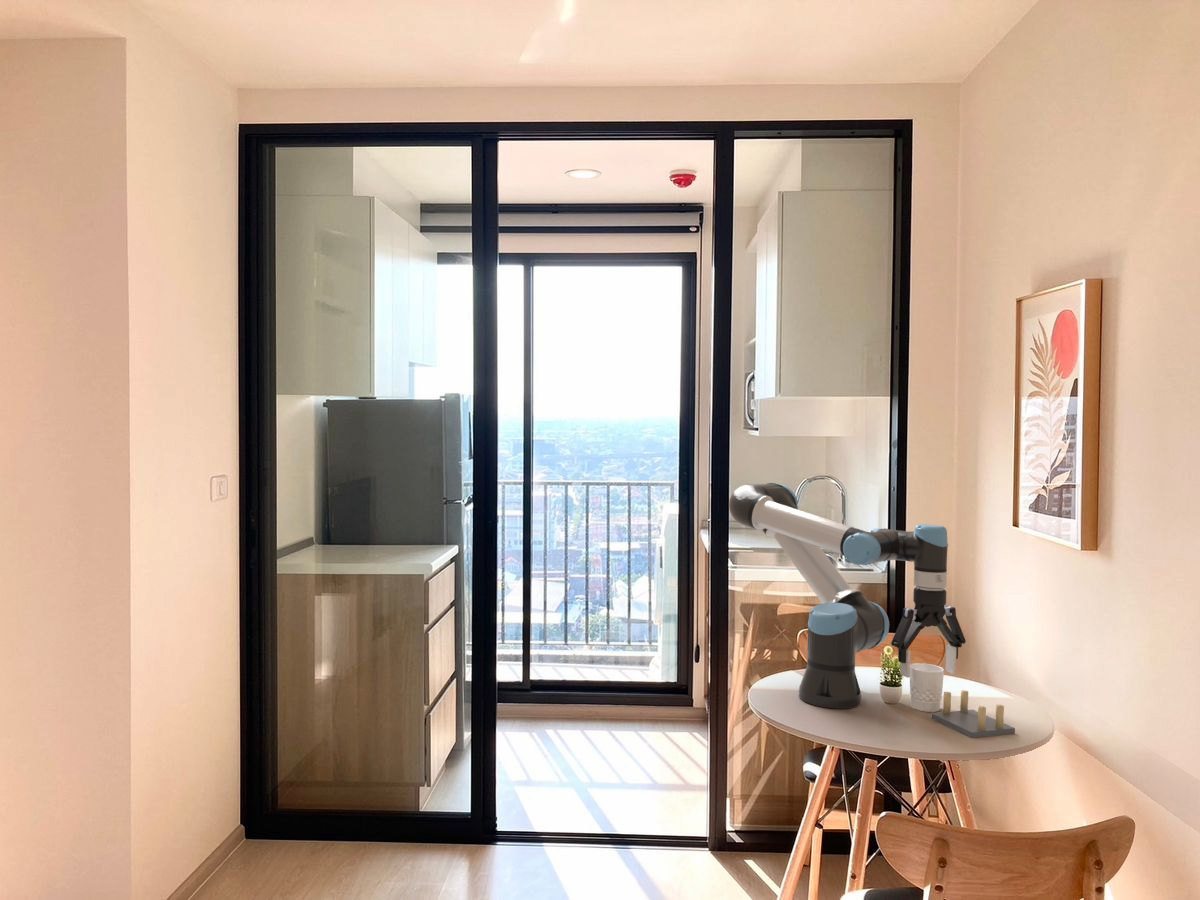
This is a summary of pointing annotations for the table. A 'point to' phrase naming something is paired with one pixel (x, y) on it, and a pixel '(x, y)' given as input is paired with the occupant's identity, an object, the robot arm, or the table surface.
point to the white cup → (926, 686)
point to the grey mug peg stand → (972, 719)
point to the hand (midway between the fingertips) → (928, 674)
